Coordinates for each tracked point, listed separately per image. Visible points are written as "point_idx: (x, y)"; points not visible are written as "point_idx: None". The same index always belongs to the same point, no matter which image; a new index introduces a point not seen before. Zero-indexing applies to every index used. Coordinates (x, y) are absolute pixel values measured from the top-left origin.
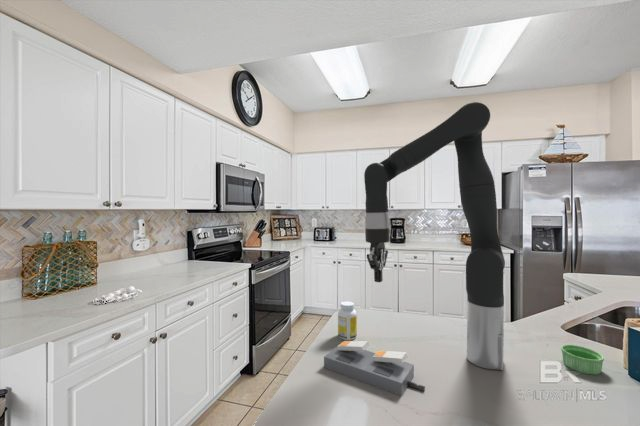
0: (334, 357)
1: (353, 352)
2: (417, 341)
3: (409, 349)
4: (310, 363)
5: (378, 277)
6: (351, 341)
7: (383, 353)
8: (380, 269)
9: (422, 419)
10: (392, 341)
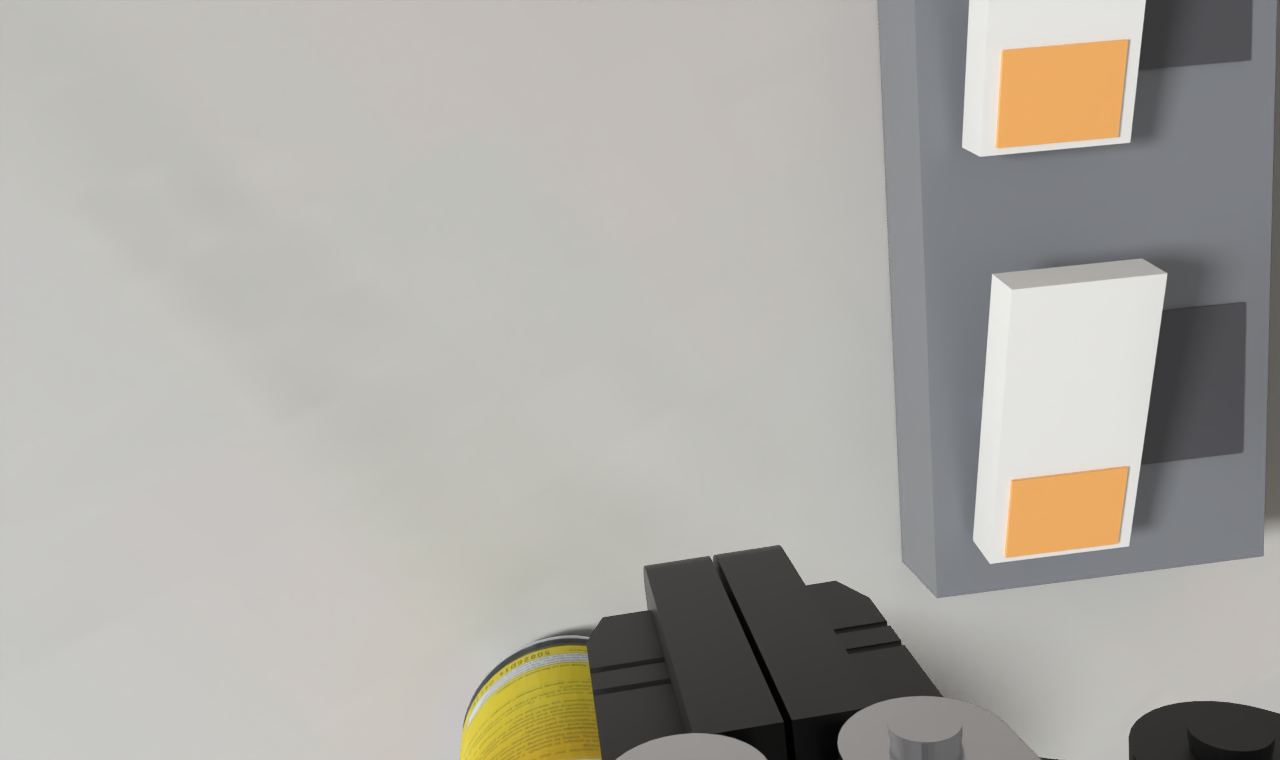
0: (1223, 476)
1: None
2: (115, 50)
3: (384, 50)
4: (1211, 648)
5: (888, 636)
6: (1012, 475)
7: (1065, 57)
8: (960, 718)
9: None
10: (330, 289)
